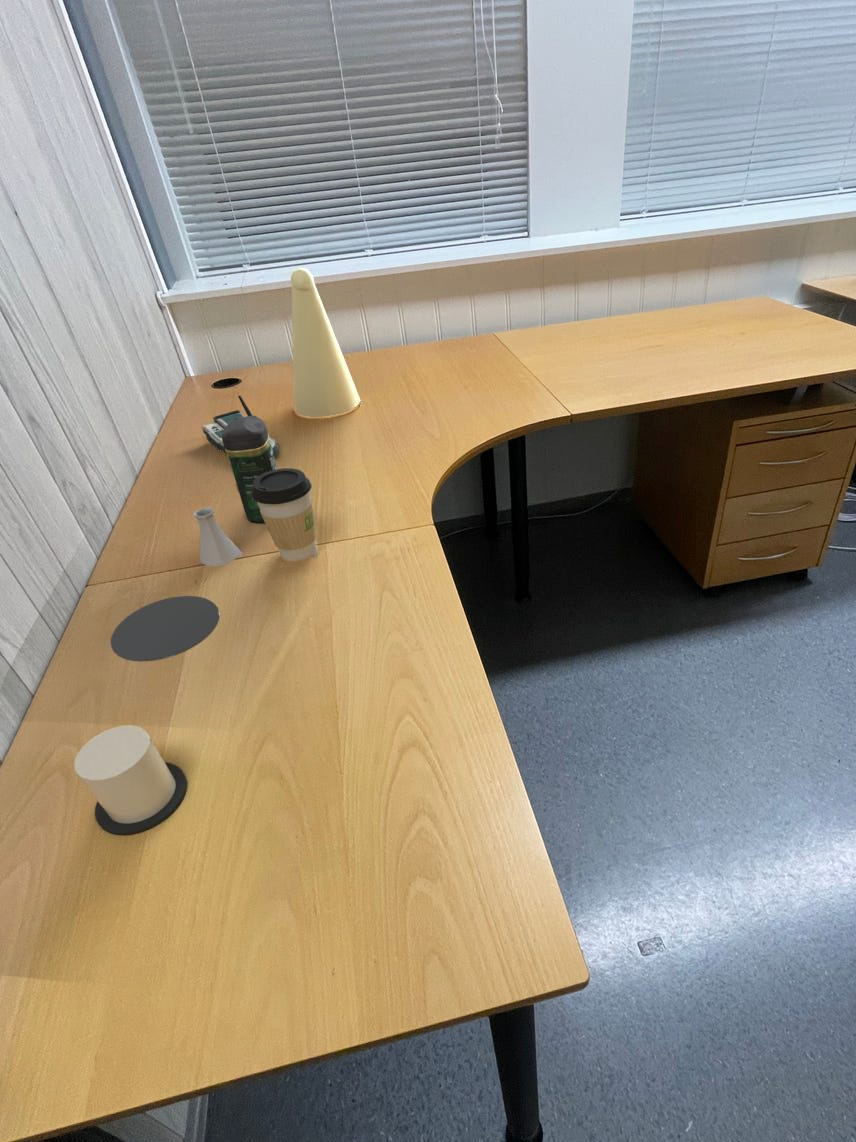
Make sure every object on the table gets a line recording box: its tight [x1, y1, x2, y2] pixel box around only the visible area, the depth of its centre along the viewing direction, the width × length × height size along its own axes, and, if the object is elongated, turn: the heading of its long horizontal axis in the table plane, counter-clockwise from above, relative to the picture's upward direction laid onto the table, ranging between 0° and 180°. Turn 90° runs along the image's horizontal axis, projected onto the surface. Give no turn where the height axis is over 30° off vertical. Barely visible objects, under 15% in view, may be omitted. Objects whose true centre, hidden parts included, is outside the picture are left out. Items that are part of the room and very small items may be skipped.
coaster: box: [94, 761, 188, 836], centre depth 73 cm, size 10×10×1 cm
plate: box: [110, 595, 221, 662], centre depth 97 cm, size 16×16×1 cm
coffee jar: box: [222, 415, 278, 524], centre depth 119 cm, size 10×8×19 cm
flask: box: [193, 507, 244, 567], centre depth 109 cm, size 7×7×10 cm
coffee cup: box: [251, 467, 318, 562], centre depth 107 cm, size 10×10×15 cm
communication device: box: [201, 395, 280, 459], centre depth 148 cm, size 12×24×9 cm, turn 39°
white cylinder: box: [73, 724, 176, 824], centre depth 70 cm, size 8×8×8 cm
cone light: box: [290, 267, 361, 417], centre depth 157 cm, size 25×18×35 cm
